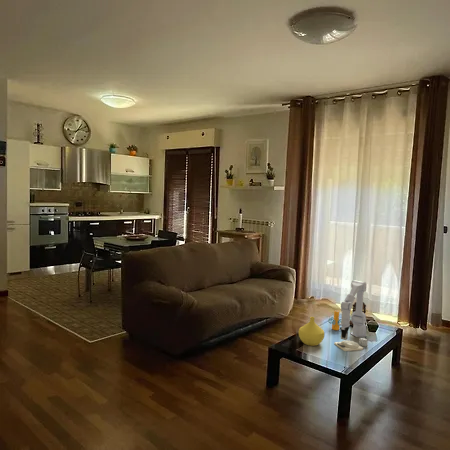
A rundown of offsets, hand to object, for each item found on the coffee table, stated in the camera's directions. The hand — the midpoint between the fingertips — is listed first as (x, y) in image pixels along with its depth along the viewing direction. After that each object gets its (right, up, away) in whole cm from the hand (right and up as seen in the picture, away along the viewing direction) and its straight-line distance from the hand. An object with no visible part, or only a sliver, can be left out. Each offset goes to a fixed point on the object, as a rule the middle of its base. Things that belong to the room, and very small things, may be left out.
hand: (344, 336), depth 277 cm
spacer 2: (+14, -7, +2) cm, 16 cm away
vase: (-24, -6, +2) cm, 24 cm away
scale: (+3, -7, -1) cm, 8 cm away
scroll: (+25, -4, +45) cm, 51 cm away
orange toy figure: (+3, -4, +34) cm, 34 cm away
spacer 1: (0, -2, 0) cm, 2 cm away
